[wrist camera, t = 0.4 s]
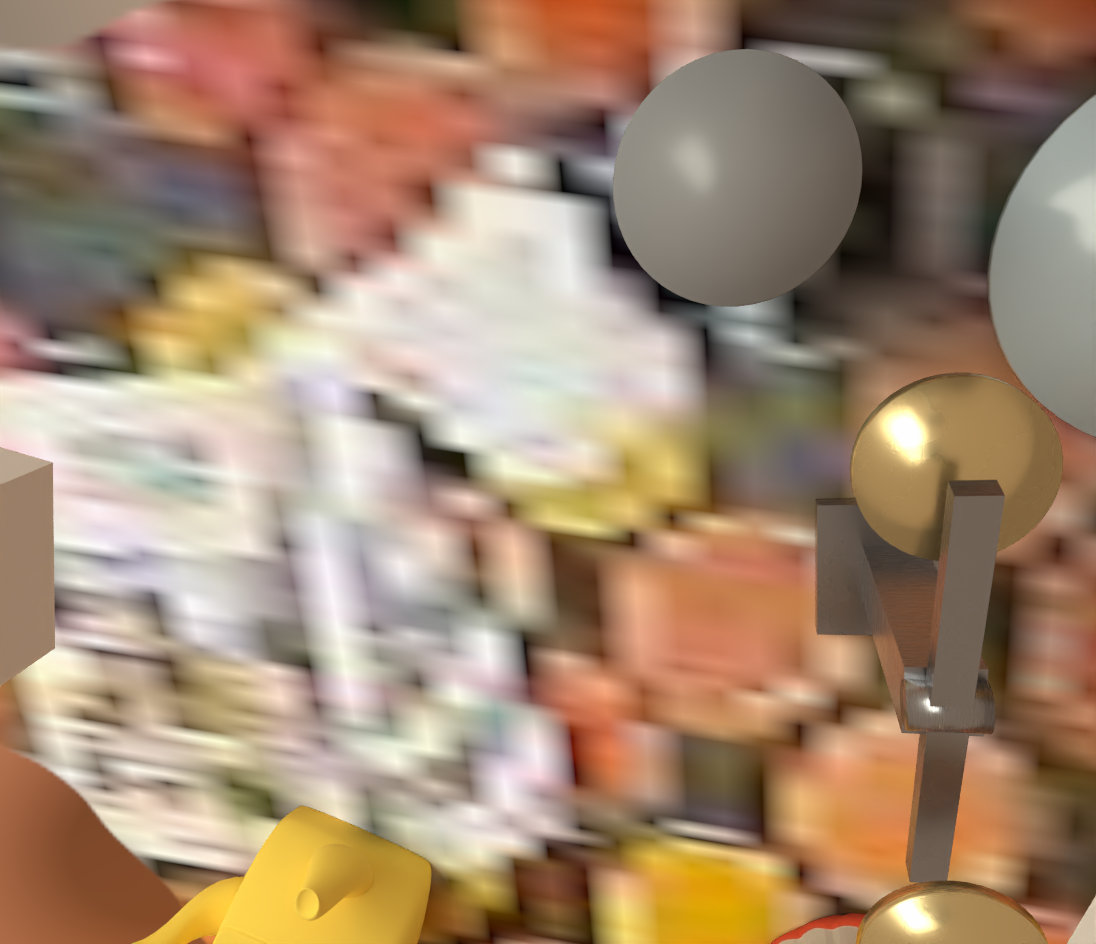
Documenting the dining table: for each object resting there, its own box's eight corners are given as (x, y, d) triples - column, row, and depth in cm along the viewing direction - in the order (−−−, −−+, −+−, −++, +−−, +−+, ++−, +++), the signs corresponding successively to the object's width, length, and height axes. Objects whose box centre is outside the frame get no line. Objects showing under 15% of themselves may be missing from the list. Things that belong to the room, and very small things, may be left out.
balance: (816, 326, 34) (861, 409, 21) (980, 316, 32) (1130, 399, 20) (815, 763, 40) (850, 1025, 28) (953, 771, 39) (1055, 1049, 26)
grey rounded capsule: (638, 96, 32) (604, 67, 24) (830, 72, 31) (864, 32, 23) (649, 282, 35) (621, 314, 26) (829, 269, 33) (860, 298, 25)
